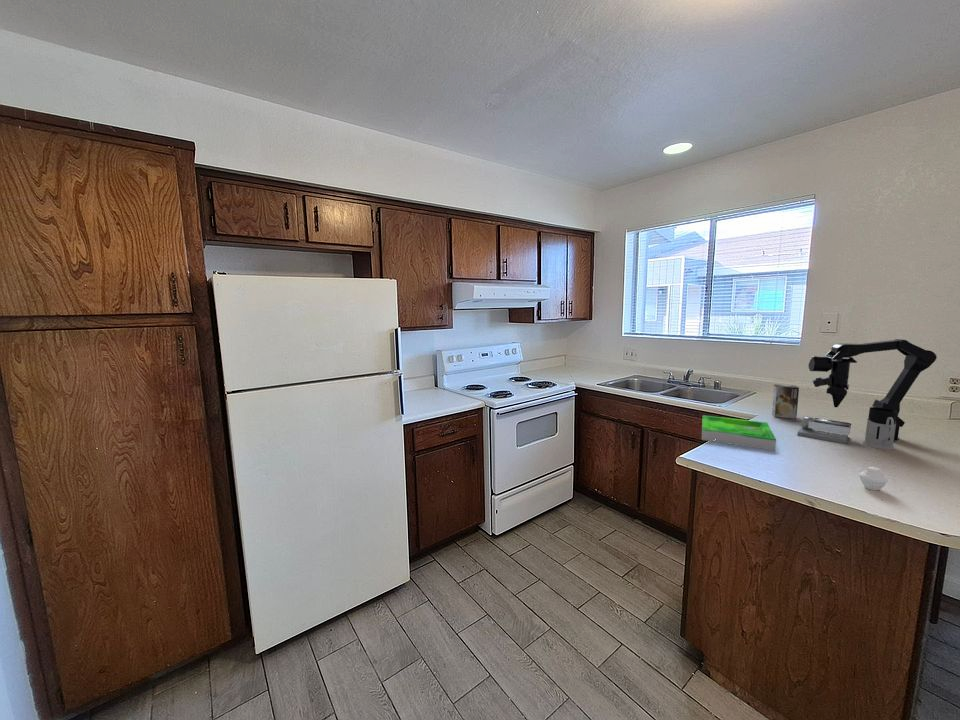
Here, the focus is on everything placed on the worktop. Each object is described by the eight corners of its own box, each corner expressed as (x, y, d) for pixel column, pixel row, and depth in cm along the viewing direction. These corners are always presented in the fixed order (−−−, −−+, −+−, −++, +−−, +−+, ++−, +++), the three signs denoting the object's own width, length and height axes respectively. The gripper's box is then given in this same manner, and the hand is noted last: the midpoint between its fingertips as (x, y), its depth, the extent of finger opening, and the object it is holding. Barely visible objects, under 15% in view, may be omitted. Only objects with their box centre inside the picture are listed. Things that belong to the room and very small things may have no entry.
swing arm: (801, 428, 166) (802, 417, 166) (802, 426, 170) (803, 415, 169) (849, 437, 155) (851, 425, 155) (850, 434, 159) (851, 422, 158)
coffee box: (793, 415, 193) (796, 385, 191) (796, 419, 188) (800, 387, 186) (771, 413, 198) (774, 383, 196) (773, 416, 192) (776, 386, 190)
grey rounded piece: (888, 444, 153) (893, 408, 151) (904, 455, 141) (910, 417, 139) (859, 440, 157) (863, 405, 155) (872, 451, 145) (877, 414, 143)
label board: (847, 436, 161) (848, 432, 161) (846, 443, 153) (846, 439, 153) (801, 428, 173) (801, 425, 172) (797, 435, 164) (797, 431, 164)
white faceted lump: (884, 495, 112) (887, 473, 111) (855, 487, 117) (858, 466, 116) (887, 489, 115) (891, 467, 114) (860, 481, 120) (862, 461, 119)
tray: (702, 425, 182) (702, 415, 181) (766, 433, 169) (767, 422, 168) (701, 440, 160) (702, 429, 160) (774, 451, 148) (776, 439, 147)
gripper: (817, 368, 175) (814, 400, 177) (812, 373, 163) (809, 407, 165) (850, 370, 167) (846, 404, 169) (848, 376, 155) (844, 412, 157)
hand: (835, 407), depth 165 cm, fingers closed
